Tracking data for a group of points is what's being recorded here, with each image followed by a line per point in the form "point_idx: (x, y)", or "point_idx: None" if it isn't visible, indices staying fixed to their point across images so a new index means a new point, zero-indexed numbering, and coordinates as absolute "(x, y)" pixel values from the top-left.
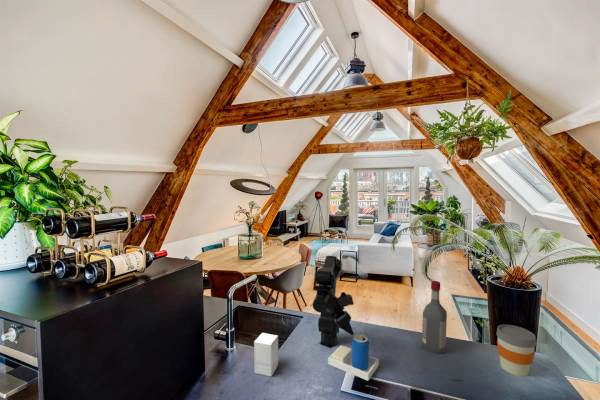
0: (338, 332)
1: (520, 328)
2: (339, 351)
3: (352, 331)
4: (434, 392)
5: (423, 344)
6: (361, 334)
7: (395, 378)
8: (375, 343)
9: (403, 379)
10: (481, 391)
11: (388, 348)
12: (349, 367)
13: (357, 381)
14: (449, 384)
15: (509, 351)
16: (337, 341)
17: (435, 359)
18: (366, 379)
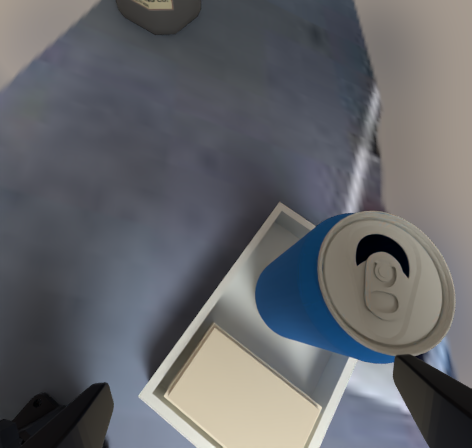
0: (16, 430)
1: None
2: (242, 427)
3: (454, 386)
4: (375, 103)
5: (160, 19)
6: (323, 252)
7: (332, 179)
8: (97, 176)
9: (333, 156)
10: (349, 15)
11: (146, 138)
12: (352, 366)
13: None
14: (336, 58)
15: None
16: (35, 396)
17: (225, 35)
18: None
